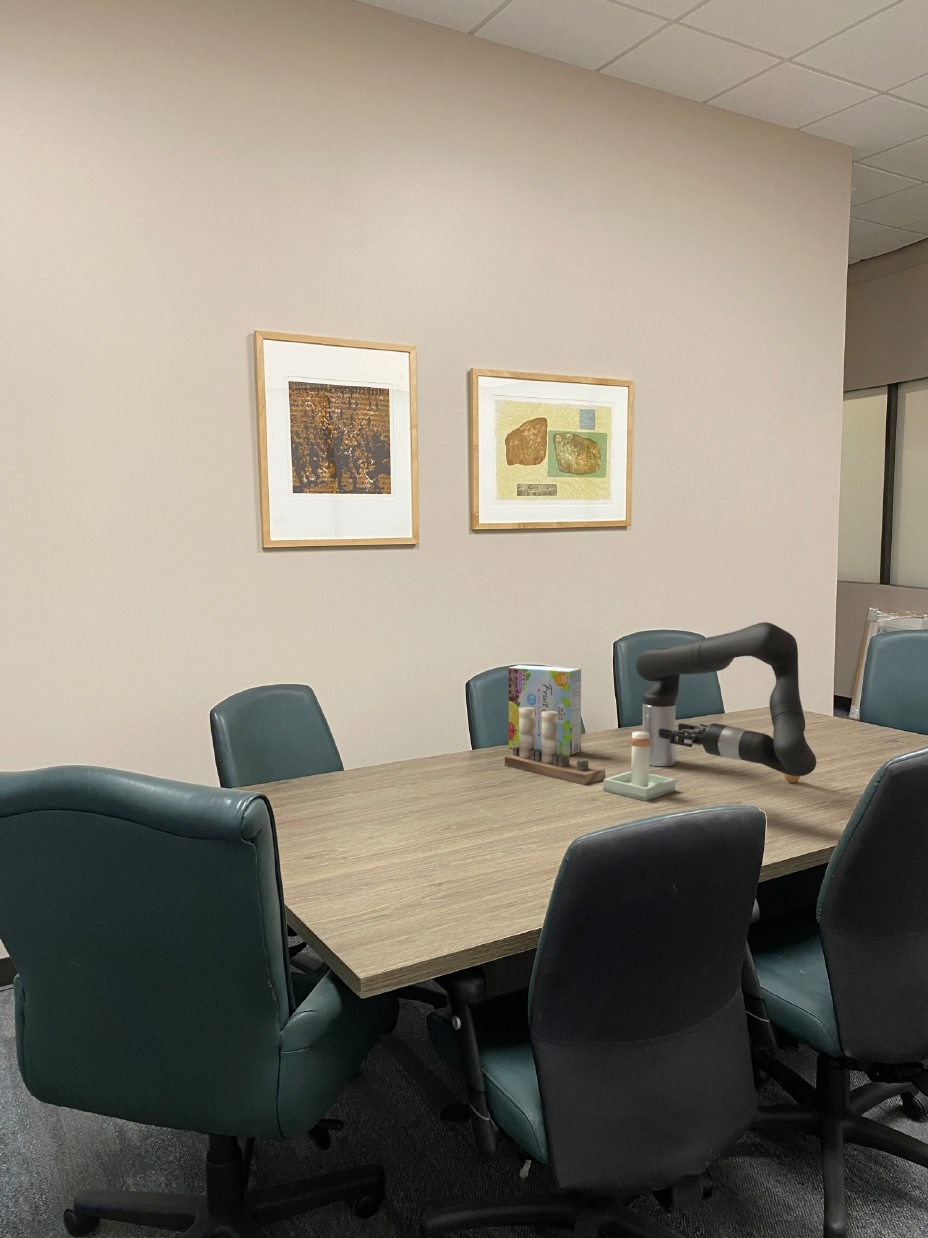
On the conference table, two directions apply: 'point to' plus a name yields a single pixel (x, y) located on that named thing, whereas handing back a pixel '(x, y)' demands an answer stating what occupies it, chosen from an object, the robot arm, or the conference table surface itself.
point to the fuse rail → (557, 770)
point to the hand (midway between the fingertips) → (669, 730)
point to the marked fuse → (640, 758)
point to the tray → (624, 787)
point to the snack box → (547, 703)
